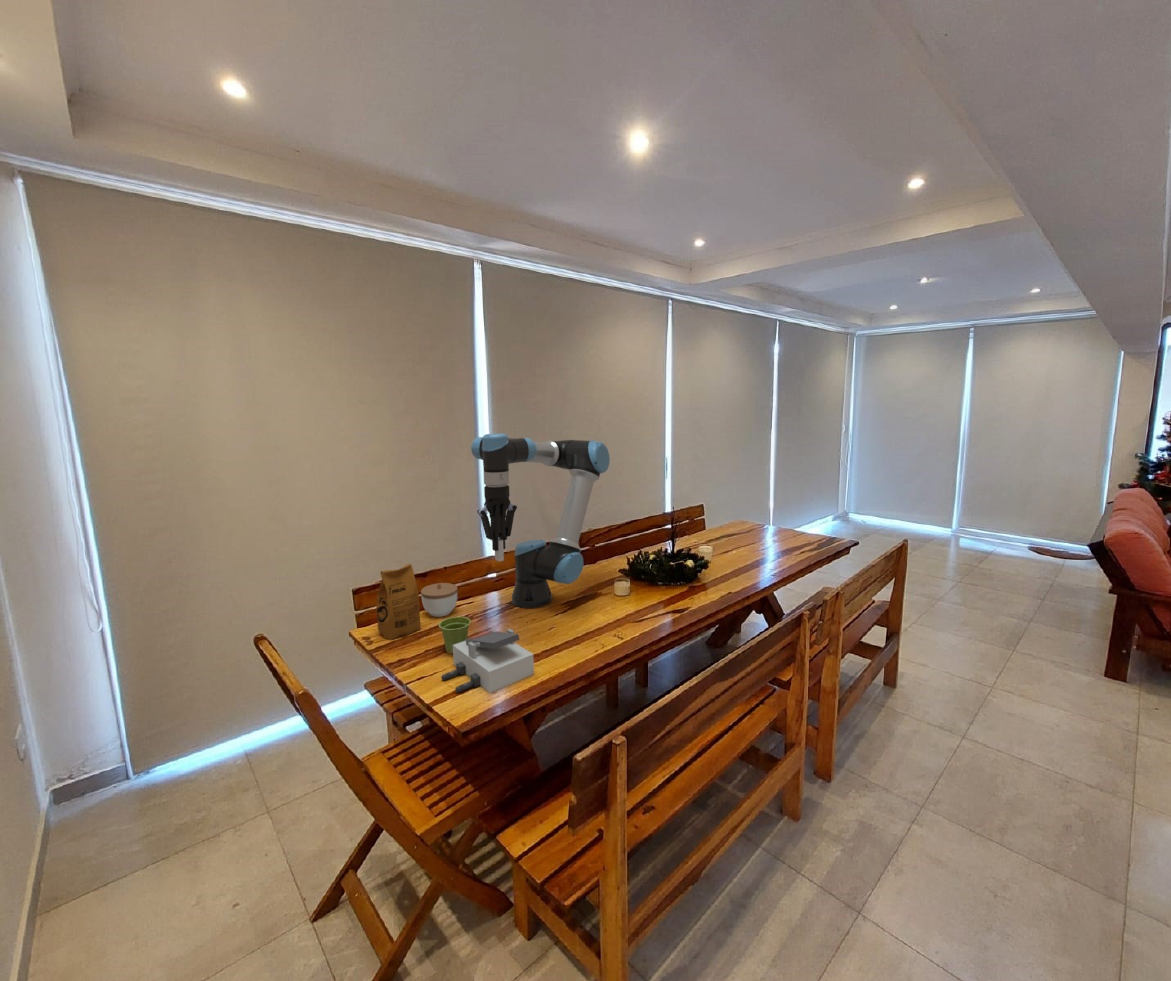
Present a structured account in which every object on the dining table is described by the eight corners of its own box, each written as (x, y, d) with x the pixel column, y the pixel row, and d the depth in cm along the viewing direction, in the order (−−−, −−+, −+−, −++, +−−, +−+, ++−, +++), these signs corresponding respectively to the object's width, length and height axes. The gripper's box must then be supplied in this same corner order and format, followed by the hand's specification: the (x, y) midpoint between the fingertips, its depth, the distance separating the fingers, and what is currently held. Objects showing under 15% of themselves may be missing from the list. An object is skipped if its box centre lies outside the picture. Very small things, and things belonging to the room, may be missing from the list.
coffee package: (374, 633, 168) (369, 569, 164) (410, 621, 177) (405, 560, 173) (388, 642, 161) (383, 576, 157) (424, 630, 170) (420, 566, 166)
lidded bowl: (419, 610, 186) (417, 581, 185) (454, 603, 192) (452, 575, 190) (425, 623, 175) (423, 592, 173) (462, 615, 181) (460, 586, 179)
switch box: (495, 649, 156) (494, 618, 155) (533, 674, 142) (533, 641, 140) (432, 672, 143) (430, 639, 141) (467, 703, 128) (465, 667, 127)
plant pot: (434, 649, 156) (433, 622, 155) (461, 639, 163) (460, 613, 162) (450, 660, 150) (448, 632, 148) (477, 649, 156) (476, 622, 155)
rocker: (494, 635, 152) (493, 629, 152) (523, 638, 140) (522, 632, 140) (462, 646, 145) (461, 640, 146) (490, 650, 133) (488, 644, 133)
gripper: (484, 489, 147) (487, 567, 151) (521, 484, 156) (523, 558, 160) (471, 486, 153) (474, 561, 157) (508, 481, 161) (510, 553, 165)
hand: (499, 560), depth 158 cm, fingers closed
